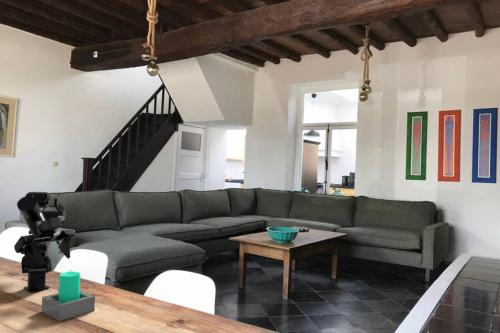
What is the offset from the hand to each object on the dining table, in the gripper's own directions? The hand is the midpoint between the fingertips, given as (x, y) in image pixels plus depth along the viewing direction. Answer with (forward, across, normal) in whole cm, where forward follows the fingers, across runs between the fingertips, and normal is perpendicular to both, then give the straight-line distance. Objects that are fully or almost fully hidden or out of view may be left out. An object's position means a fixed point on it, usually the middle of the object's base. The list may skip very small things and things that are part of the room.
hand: (56, 260), depth 127 cm
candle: (+16, -2, +2) cm, 16 cm away
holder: (+17, -3, +2) cm, 17 cm away
